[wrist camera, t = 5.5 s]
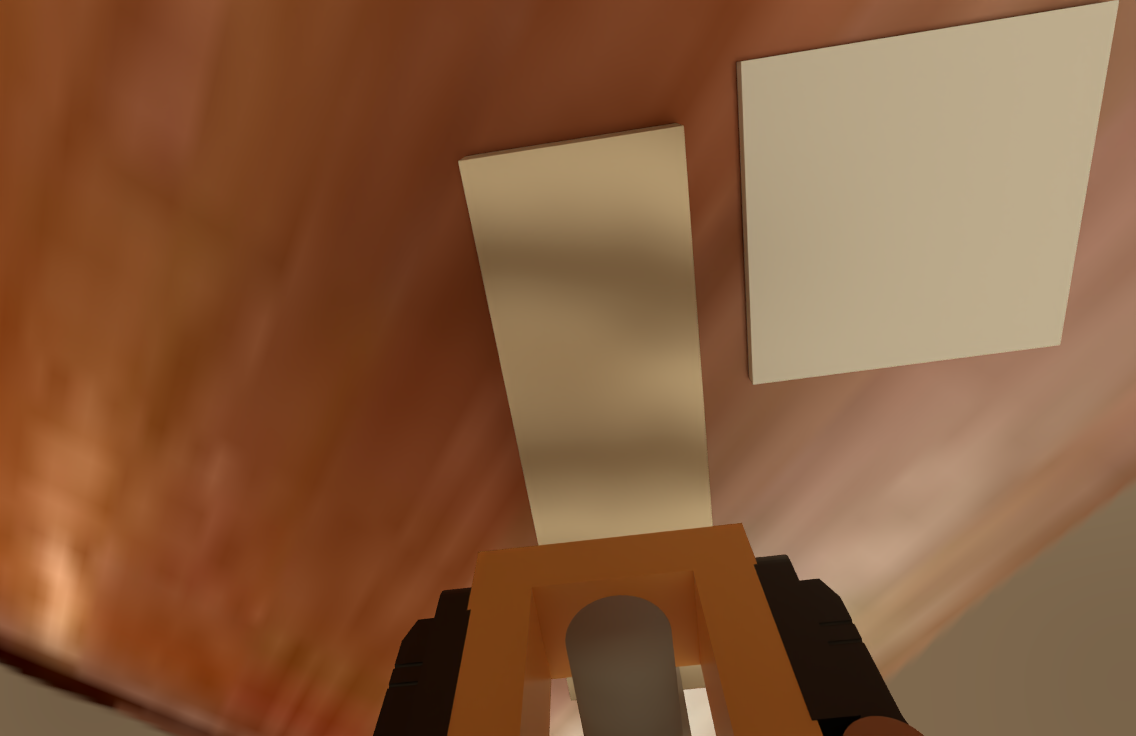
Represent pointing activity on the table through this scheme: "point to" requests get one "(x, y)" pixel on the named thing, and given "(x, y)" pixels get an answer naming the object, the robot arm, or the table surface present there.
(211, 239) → the table surface
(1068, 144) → the mat
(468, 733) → the loop
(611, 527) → the hook stand
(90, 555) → the table surface
